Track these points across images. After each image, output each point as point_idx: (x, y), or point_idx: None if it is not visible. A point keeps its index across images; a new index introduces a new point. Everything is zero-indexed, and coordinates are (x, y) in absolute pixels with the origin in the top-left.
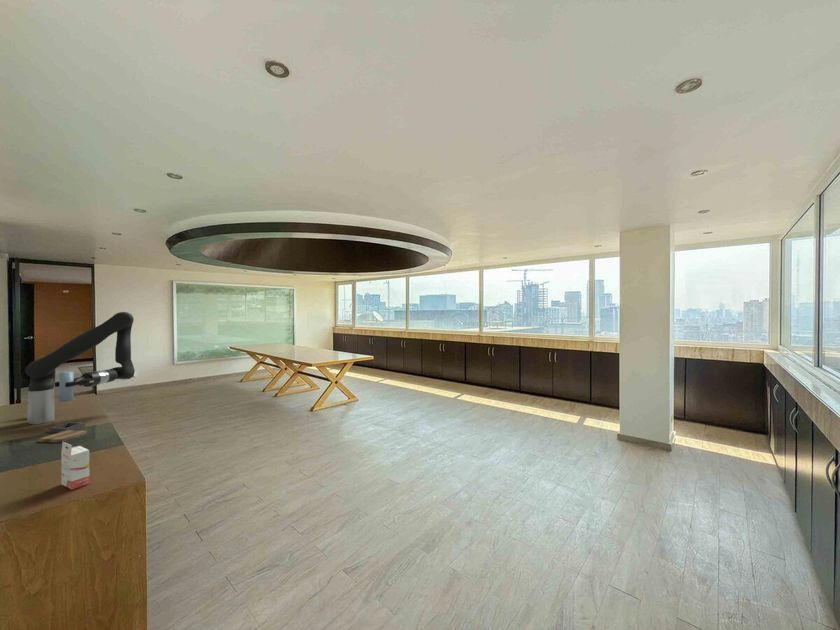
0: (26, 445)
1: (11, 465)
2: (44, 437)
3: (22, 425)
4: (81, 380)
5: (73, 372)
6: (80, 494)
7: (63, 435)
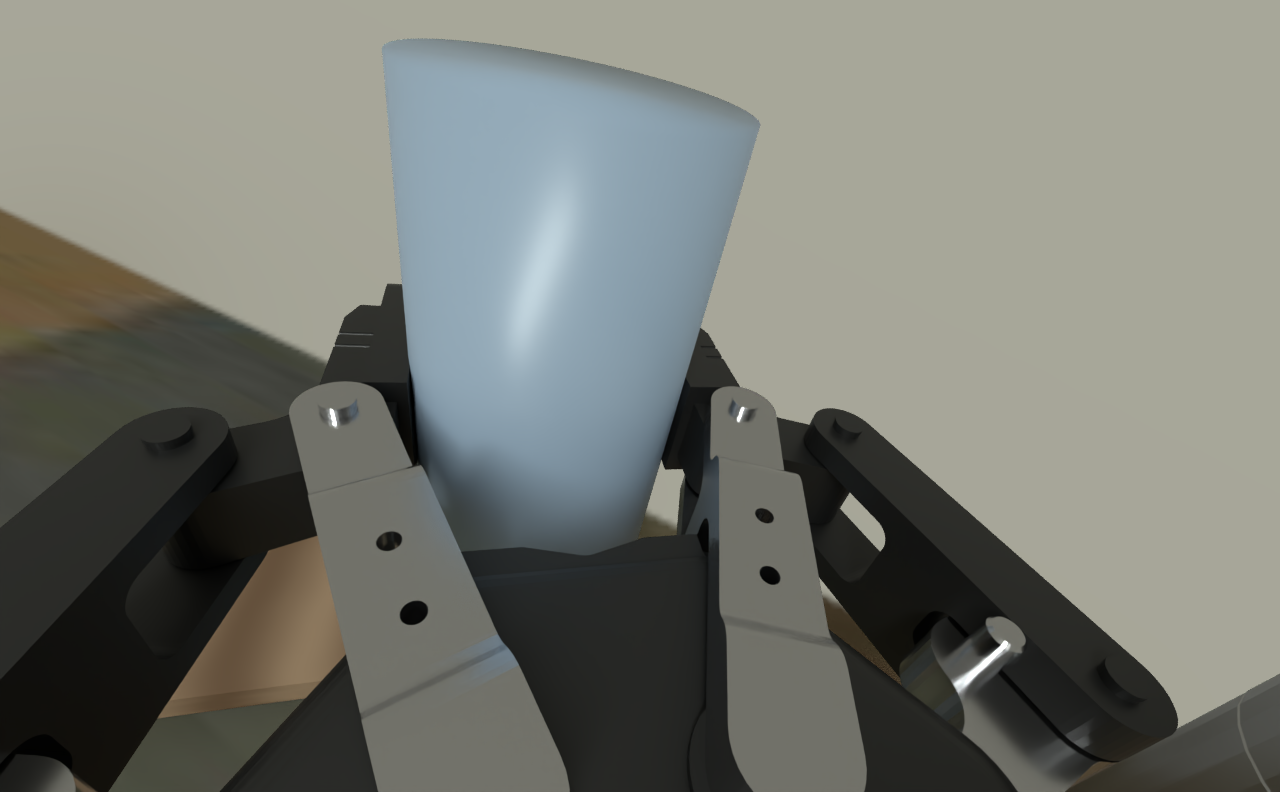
0: None
1: (223, 322)
2: None
3: None
4: (143, 438)
5: (417, 85)
6: None
7: (260, 567)
